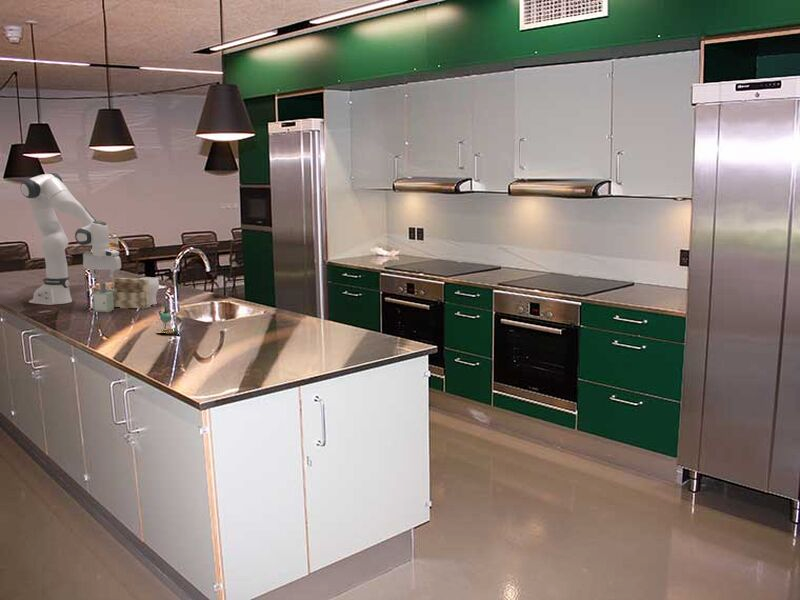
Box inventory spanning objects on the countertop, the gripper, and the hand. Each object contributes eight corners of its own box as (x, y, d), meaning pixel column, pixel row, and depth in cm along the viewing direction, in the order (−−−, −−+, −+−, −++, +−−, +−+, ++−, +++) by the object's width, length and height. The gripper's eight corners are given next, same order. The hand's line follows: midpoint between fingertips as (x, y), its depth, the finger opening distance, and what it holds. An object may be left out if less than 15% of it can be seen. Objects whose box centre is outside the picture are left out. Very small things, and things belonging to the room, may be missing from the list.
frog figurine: (165, 338, 347) (163, 306, 346) (149, 335, 361) (146, 305, 359) (185, 335, 353) (182, 304, 352) (168, 333, 367) (166, 302, 366)
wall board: (110, 307, 416) (109, 278, 413) (116, 305, 423) (115, 277, 420) (144, 309, 413) (143, 280, 410) (150, 307, 420) (150, 278, 417)
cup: (162, 303, 432) (161, 277, 430) (154, 306, 422) (154, 280, 419) (144, 302, 433) (143, 276, 431) (136, 305, 423) (135, 279, 420)
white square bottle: (93, 311, 404) (92, 283, 401) (102, 308, 413) (101, 281, 410) (107, 312, 403) (106, 284, 400) (115, 309, 412) (114, 282, 409)
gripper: (79, 252, 400) (81, 278, 402) (116, 253, 397) (117, 279, 399) (86, 250, 406) (87, 276, 408) (122, 251, 403) (123, 277, 405)
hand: (102, 277), depth 404 cm, fingers open, 8 cm apart
